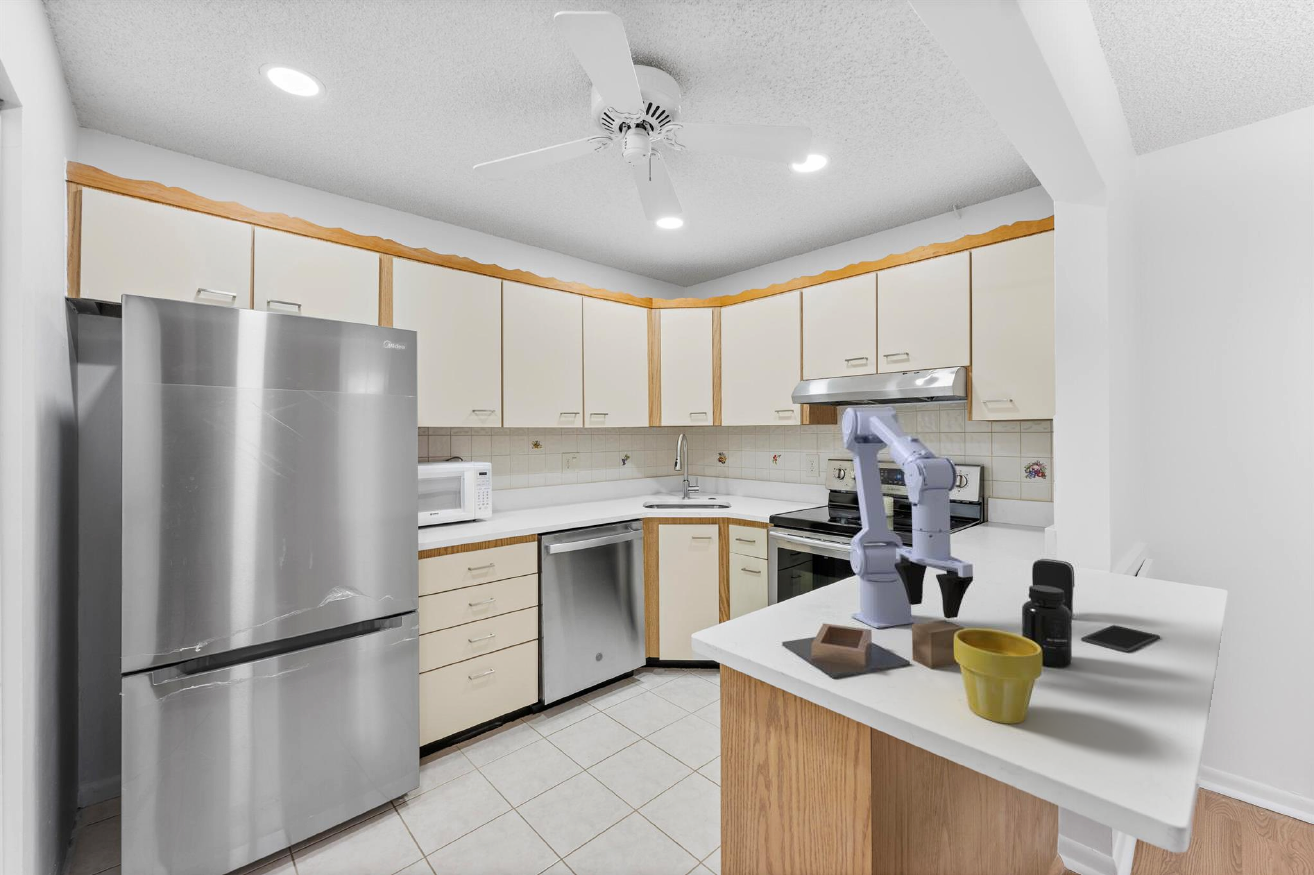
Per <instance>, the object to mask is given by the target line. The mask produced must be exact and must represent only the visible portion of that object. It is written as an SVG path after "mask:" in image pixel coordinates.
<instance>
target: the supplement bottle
mask: <svg viewBox="0 0 1314 875" xmlns="http://www.w3.org/2000/svg"><path fill="white" fill-rule="evenodd" d="M1028 598H1029V599H1030V600H1027V601H1025V602H1024V603H1023V604H1022V607H1021V636H1022V637H1025V638H1028V639H1030V640H1032V641H1034V642H1035V643H1037V644H1038V645H1039V646H1040V647H1041V649H1042V666H1045V667H1050V668H1066V667H1069V666H1070V665H1071V664H1072V659H1073V658H1072V656H1073V645H1072V644H1073V643H1072V642H1073V641H1072V640H1073V639H1072V638H1073V637H1072V636H1073V632H1072V631H1073V629H1072V625H1073V624H1072V622H1073V618H1072V615H1071V612H1070V611H1069V609H1068V608H1067V607H1065V606H1064V605H1063V603H1064V602H1065V600H1064V591H1063V590H1061V589H1059V588H1055V587H1050V586H1042V585H1033V584H1032V585H1029V586H1028Z"/></svg>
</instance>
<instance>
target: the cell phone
mask: <svg viewBox="0 0 1314 875" xmlns="http://www.w3.org/2000/svg"><path fill="white" fill-rule="evenodd" d="M1160 639H1161V635H1158V634H1154V633H1150V632H1147V631H1142V630H1137V629H1134V628H1133V629H1132V628H1128V627H1124V626H1121V625H1115V624H1113V625H1110V626H1108V627H1105V628H1102V629H1100V630H1097V631H1095V632H1093V633H1090V634H1088V635H1086V636H1082V637H1081V638H1080V641H1081V642H1084V643H1087V644H1090V645H1094V646H1099V647H1102V648H1106V649H1109V650H1113V651H1116V652H1120V653H1125V654H1130V653H1133V652H1136V651H1138V650H1140V649H1142V648H1144V647H1146V646H1148V645H1150V644H1152V643H1154V641H1155V642H1157V641H1158V640H1160Z"/></svg>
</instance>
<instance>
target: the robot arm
mask: <svg viewBox="0 0 1314 875" xmlns="http://www.w3.org/2000/svg"><path fill="white" fill-rule="evenodd" d="M841 430H842V439H843V444H844V448H845V449H846V450H848V451H850V452H851V454H852V462H853V470H854V476H855V483H856V484H855V485H856V491H857V498H858V505H859V506H858V507H859V513H860V521H861V528H862V529H861V530H860V531H859V532H858V533H856V534H855V535H854V536H853V537H852V539H851V540H850V554H849V561H850V566H851V569H852V571H853V573H855V575H857V576H858V577H859V589H860V590H859V596H860V601H859V602H860V608H859V609H860V612H858V613H857V612H856V613H851V614H850V615H851V617H852V618H854V619H856V620H858V621H860V622H862V623H865V624H866V625H868V626H871V627H873V628H876V629H883V628H887V627H894V626H895V627H896V626H901V625H902V626H903V625H907V624H913V623H915V619H912V606H916V605H921V604H922V603H923V596H924V595H923V592H924V591H923V589H924V588H923V587H924V579H925V574H926V571H927V567H929V568H933V569H936V570H940V571H944V572H946V573H937V574H935V579H936V580H937V583H938V585H939V588H940V594H941V599H942V601H941V602H942V612H943V616H944V618H946V619H955V618H958V616H959V612H960V609H961V605H962V602H963V599H964V596H965V594H966V592H967V589H969V587H970V585H971V584H972V582H973V581H974V570H973V568H974V567H973V564H972V563H970V562H966V561H963V560H961V559H959V558H956V557H954V556H952V555H951V554H952V553H951V552H952V550H951V509H950V508H951V507H950V505H951V503H950V501H951V500H950V497H951V496H950V492H952V491H953V490H954V489H955V488H956V485H957V482H958V471H957V467H956V465H955V464H954V462H953V461H952V459H951V458H950V457H948V456H936V454H934V453H933V452H932V451H931V450H930V449H929V448H928V446H926V445H925V444H924V443H923V442H922V441H921V440H920V438H919V437H918V435H910V434H909V435H907V434H906V433H905V431H904V430H903V429H902V428H901V426H900V424H899V416H898V412H897V411H896V410H895V409H894V408H893V407H891V406H886V407H859V408H858V407H855V408H854V407H847V409H846V410H845V411H844V413H843V416H842V420H841ZM887 447H889V448H890V450H889V454H890V457H891V459H892V460H893V461H894V463H896V465H897V466H898V468H899V469H900V470H901V471H902V472H903V476H904V483H905V486H906V489H907V494H908V496H907V497H908V501H909V502H911V518H912V519H911V520H912V521H911V522H912V523H911V525H912V529H911V531H912V535H911V536H912V548H910V547H909V548H908V547H904V545H903V542H902V541H903V540H902V538H901V536H900V535H898V534H897V533H895V532H894V531H893V530H891V529H890V528H889V527H888V518H887V514H886V513H887V512H886V505H885V501H884V500H885V499H884V493H883V487H882V480H881V479H882V478H881V472H880V467H879V460H878V453H879V452H881V451H882V450H885V449H886V448H887Z"/></svg>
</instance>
